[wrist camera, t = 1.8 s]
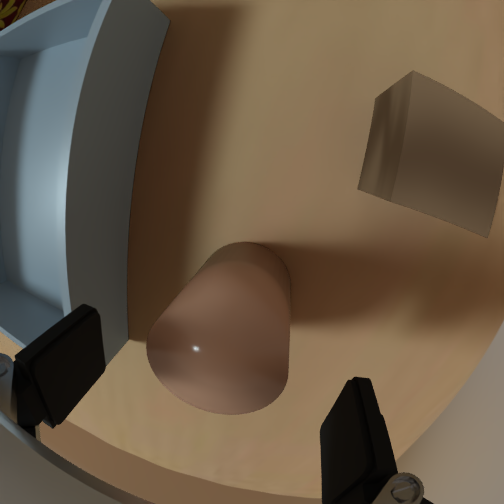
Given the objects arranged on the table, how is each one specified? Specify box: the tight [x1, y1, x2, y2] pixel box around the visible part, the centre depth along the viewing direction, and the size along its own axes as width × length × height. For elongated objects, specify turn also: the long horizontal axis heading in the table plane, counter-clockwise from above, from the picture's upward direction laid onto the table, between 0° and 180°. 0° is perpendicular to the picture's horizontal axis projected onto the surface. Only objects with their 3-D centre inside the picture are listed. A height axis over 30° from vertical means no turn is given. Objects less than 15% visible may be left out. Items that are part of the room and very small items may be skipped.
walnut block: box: [358, 71, 504, 238], centre depth 10 cm, size 5×5×5 cm
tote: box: [0, 0, 170, 366], centre depth 12 cm, size 21×15×6 cm
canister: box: [146, 242, 291, 415], centre depth 12 cm, size 5×5×7 cm
